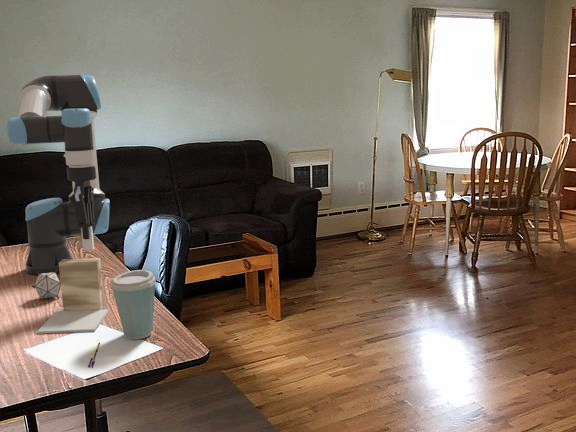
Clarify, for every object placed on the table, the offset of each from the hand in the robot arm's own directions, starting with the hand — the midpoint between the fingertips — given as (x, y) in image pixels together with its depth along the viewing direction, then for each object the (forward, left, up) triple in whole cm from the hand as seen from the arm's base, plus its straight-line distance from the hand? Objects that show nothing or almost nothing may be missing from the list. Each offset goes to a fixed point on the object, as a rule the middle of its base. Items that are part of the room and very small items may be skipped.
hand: (88, 249), depth 175 cm
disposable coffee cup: (+28, +18, -15) cm, 36 cm away
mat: (+18, 0, -15) cm, 23 cm away
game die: (-2, -13, -15) cm, 20 cm away
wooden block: (+9, 0, -15) cm, 17 cm away
